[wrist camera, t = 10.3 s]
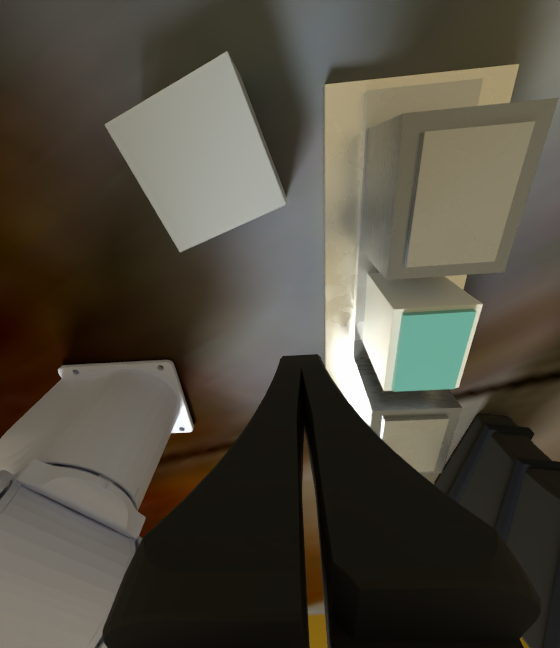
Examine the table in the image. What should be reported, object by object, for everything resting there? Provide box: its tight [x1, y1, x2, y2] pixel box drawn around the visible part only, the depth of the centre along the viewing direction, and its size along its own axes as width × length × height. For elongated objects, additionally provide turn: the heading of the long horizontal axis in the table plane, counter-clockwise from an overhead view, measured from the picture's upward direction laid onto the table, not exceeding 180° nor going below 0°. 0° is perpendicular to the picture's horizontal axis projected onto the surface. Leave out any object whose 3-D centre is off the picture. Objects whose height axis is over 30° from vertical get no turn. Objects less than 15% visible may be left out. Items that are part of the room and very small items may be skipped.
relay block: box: [104, 52, 286, 252], centre depth 15 cm, size 6×6×4 cm
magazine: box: [434, 414, 560, 648], centre depth 23 cm, size 4×13×15 cm, turn 174°
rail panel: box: [323, 64, 558, 474], centre depth 17 cm, size 9×24×7 cm, turn 5°
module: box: [363, 273, 483, 392], centre depth 17 cm, size 4×5×5 cm
